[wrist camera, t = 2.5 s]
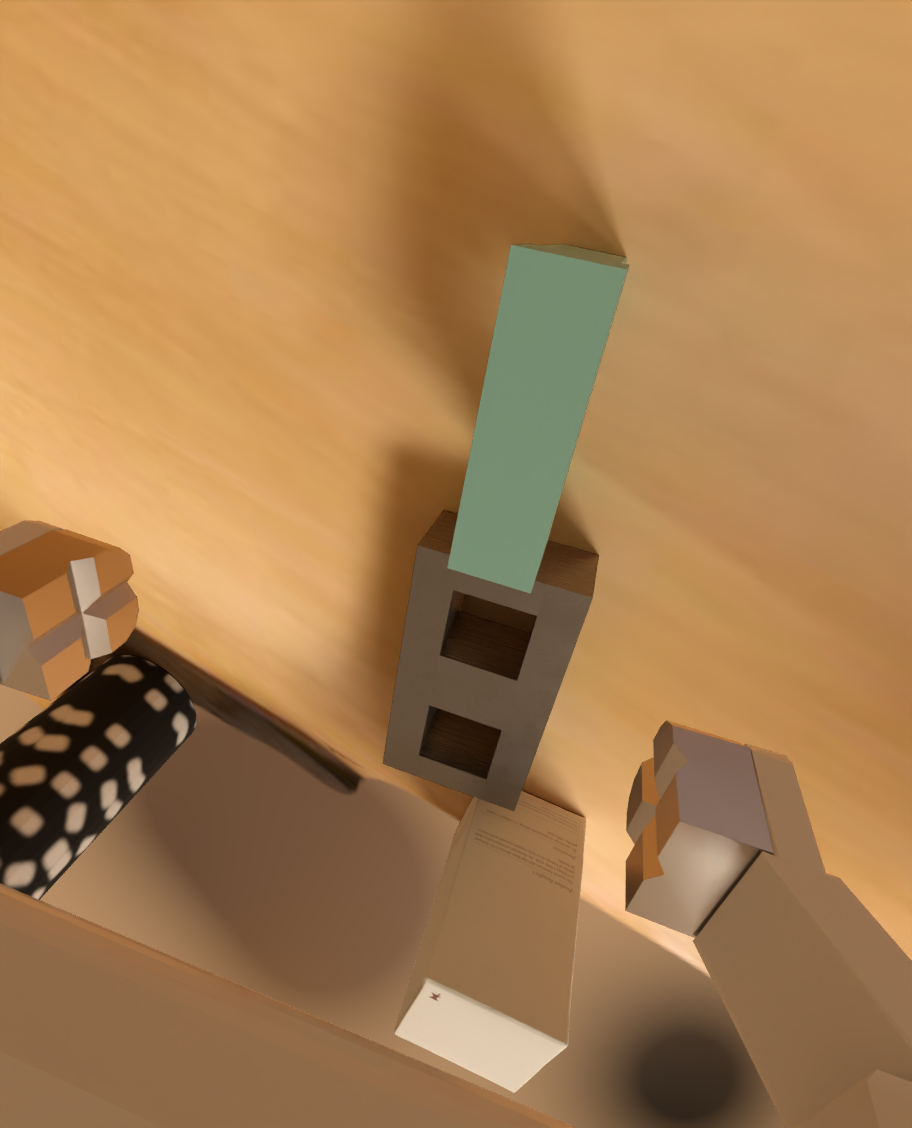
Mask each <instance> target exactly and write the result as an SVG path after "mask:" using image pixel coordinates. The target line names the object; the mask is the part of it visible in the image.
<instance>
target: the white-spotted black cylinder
mask: <svg viewBox="0 0 912 1128" xmlns="http://www.w3.org/2000/svg"><path fill="white" fill-rule="evenodd" d="M195 726H196V712H195V709H194V706H193V704H192V701H191V699H190V697H189V696H188V694H187V693H186V692H185V690H184V689H183V688H182V686H181V685H180V684H179V683H178V682H177V681H176V680H175V679H174V678H173V677H172V676H171V675H170V674H168V673H167V672H166V671H164V670H163V669H162V668H160V667H159V666H157V665H155V664H153V663H151V662H150V661H147V660H145V659H142V658H140V657H135V656H131V655H118V656H114V657H112V658H110V659H108V660H107V661H105V662H104V663H103V664H102V665H100V666H99V667H98V668H97V669H95V670H94V671H93V672H91V673H90V674H89V675H88V676H86V677H85V678H84V679H82V680H81V681H80V682H79V683H77V684H76V685H75V686H74V687H72V688H71V689H70V690H68V691H67V692H66V693H65V694H63V695H62V696H61V697H60V698H58V699H57V700H56V701H54V702H53V703H52V704H51V705H49V706H48V707H47V708H45V709H44V710H43V711H42V712H40V713H39V714H38V715H37V716H35V717H34V718H33V719H32V720H30V721H29V722H28V723H26V724H25V725H24V726H22V727H21V728H20V729H19V730H17V731H16V732H15V733H14V734H13V735H11V736H10V737H8V738H7V739H6V740H5V741H4V742H2V743H1V744H0V883H1V884H3V885H5V886H8V887H10V888H12V889H15V890H17V891H19V892H22V893H24V894H26V895H29V896H31V897H34V898H36V899H38V900H40V899H41V897H42V896H43V895H44V894H45V893H46V892H47V891H48V890H49V889H50V888H51V887H52V885H53V884H54V883H55V882H56V881H57V880H58V879H59V878H60V877H61V876H62V875H63V874H64V872H65V871H66V870H67V869H68V868H69V867H70V866H71V865H72V864H73V863H74V861H75V860H76V859H77V858H78V857H79V856H80V855H81V854H82V853H83V852H84V851H85V850H86V848H87V847H88V846H89V845H90V844H91V843H92V842H93V841H94V840H95V839H96V838H97V836H98V835H99V834H100V833H101V832H102V831H103V830H104V829H105V828H106V827H107V825H108V824H109V823H110V822H111V821H112V820H113V819H114V818H115V817H116V816H117V814H118V813H119V812H120V811H121V810H122V809H123V808H124V807H125V806H126V805H127V804H128V803H129V802H130V800H131V799H132V798H133V797H134V796H135V795H136V794H137V792H139V790H140V789H141V788H142V787H143V786H144V785H145V784H146V783H147V782H148V781H149V780H150V779H151V777H152V776H153V775H154V774H155V773H156V772H157V771H158V770H159V769H160V768H161V767H162V765H163V764H164V763H165V762H166V761H167V760H168V759H169V758H170V757H171V756H172V755H173V754H174V752H175V751H176V750H177V749H178V748H179V747H180V746H181V745H182V744H183V743H184V741H185V740H186V739H187V738H188V737H189V736H190V735H191V734H192V732H193V731H194V729H195Z"/></svg>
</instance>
